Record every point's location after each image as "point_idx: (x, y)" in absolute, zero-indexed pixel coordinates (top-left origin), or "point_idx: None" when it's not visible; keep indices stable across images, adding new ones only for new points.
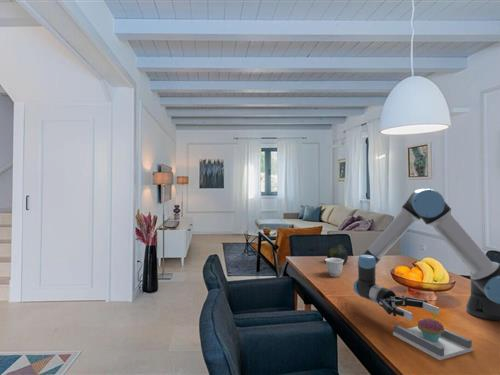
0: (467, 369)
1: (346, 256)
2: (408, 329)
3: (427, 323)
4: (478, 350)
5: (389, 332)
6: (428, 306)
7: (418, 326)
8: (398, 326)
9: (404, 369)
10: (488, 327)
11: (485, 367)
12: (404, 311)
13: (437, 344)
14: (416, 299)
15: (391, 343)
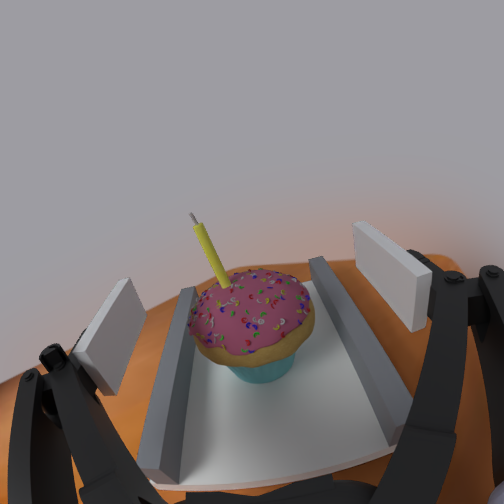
0: (290, 265)
1: None
2: (296, 462)
3: (281, 274)
4: (171, 318)
5: None
6: (112, 329)
7: (312, 318)
8: (399, 399)
9: (440, 255)
10: (11, 386)
11: (242, 271)
12: (389, 243)
13: None
14: (32, 429)
15: None
